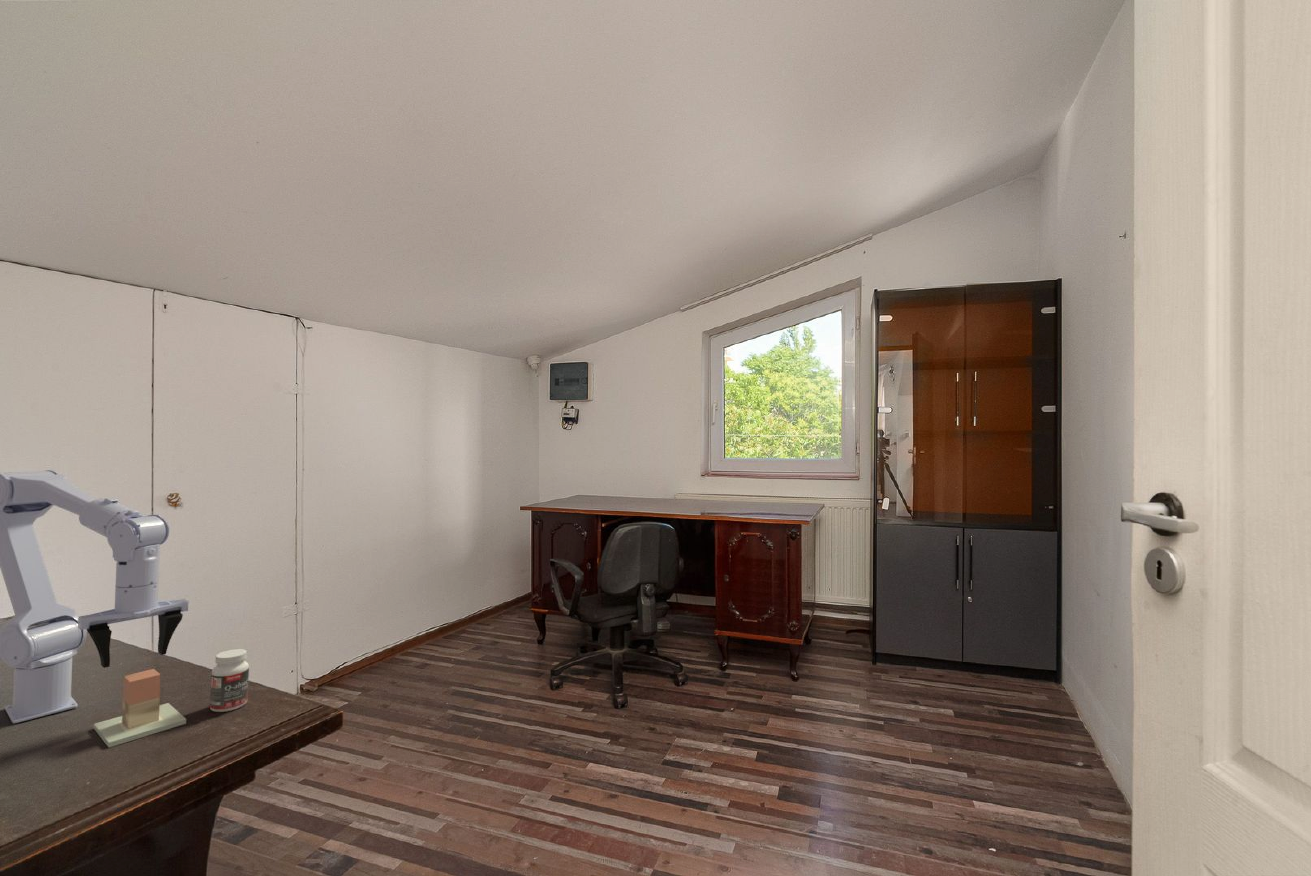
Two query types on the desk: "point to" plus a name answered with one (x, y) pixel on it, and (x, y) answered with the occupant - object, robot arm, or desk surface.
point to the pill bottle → (229, 681)
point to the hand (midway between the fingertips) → (134, 659)
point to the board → (118, 733)
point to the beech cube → (140, 713)
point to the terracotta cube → (141, 687)
